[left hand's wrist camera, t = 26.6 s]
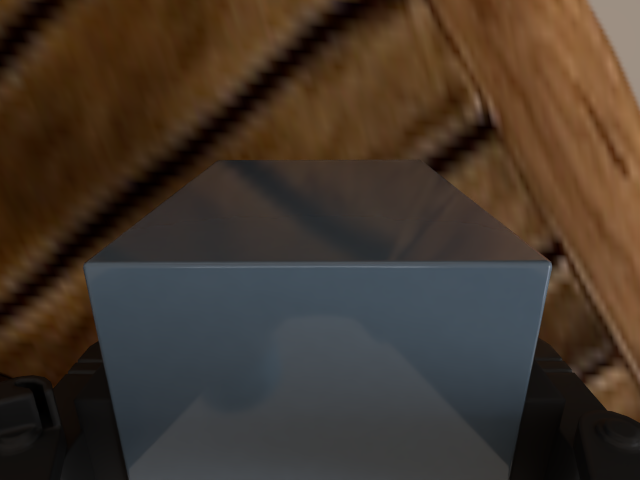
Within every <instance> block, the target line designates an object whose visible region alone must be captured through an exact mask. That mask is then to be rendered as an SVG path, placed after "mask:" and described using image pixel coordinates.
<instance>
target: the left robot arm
mask: <svg viewBox="0 0 640 480" xmlns="http://www.w3.org/2000/svg"><path fill="white" fill-rule="evenodd" d="M0 480H128V476H127V472H126V467H125V462H124V458H123V453H122V448H121V444H120V439H119V434H118V429H117V425H116V420H115V415H114V411H113V406H112V401H111V396H110V392H109V387H108V382H107V378H106V373H105V368H104V363H103V359H102V354H101V349H100V345H99V341H98V342H96V343H95V344H93V345H92V346H90V347H89V348H88V349H87V350H86V352H85V353H84V354H83V355H82V356H81V357H80V359H79V360H78V363H75V364H74V365H73V367H72V368H71V369H70V370H69V371H68V374H66V375H65V376H64V377H63V378H62V379H61V380H60V382H59V383H58V384H57V385H56V386H55V387H54V389H53V388H52V384H51V382H50V381H49V380H47V379H46V378H45V377H40V376H34V375H31V376H21V377H16V378H12V379H9V378H6V377H4V376H1V375H0ZM509 480H640V423H639V422H637V421H635V420H633V419H631V418H629V417H627V416H624V415H621V414H618V413H615V412H612V411H607V410H606V409H605V407H604V406H603V405H602V404H601V403H600V402H599V401H598V399H597V398H596V397H595V396H594V395H593V394H592V393H591V391H590V390H589V389H588V388H587V387H586V386H585V384H584V383H583V382H582V381H581V380H580V379H579V378H578V376H577V375H576V374H575V373H572V370H571V368H570V367H569V366H568V365H567V364H566V363H565V362H564V361H562V358H561V357H560V356H559V355H558V354H557V352H556V351H555V350H554V349H553V348H552V347H551V345H549V344H548V343H546V342H544V341H543V340H541V339H540V338H538V339H537V344H536V349H535V354H534V359H533V364H532V369H531V374H530V379H529V384H528V389H527V394H526V399H525V404H524V408H523V413H522V418H521V423H520V428H519V433H518V438H517V443H516V448H515V453H514V458H513V463H512V468H511V473H510V478H509Z"/></svg>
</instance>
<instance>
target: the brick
mask: <svg viewBox="0 0 640 480" xmlns="http://www.w3.org/2000/svg"><path fill="white" fill-rule="evenodd" d="M83 269H84V274H85V279H86V283H87V288H88V293H89V298H90V302H91V307H92V312H93V316H94V321H95V326H96V331H97V335H98V340H99V345H100V349H101V354H102V359H103V363H104V368H105V373H106V378H107V382H108V387H109V392H110V396H111V401H112V406H113V411H114V415H115V420H116V425H117V429H118V434H119V439H120V444H121V448H122V453H123V458H124V462H125V467H126V472H127V476H128V480H509V478H510V473H511V468H512V463H513V458H514V453H515V448H516V443H517V438H518V433H519V428H520V423H521V418H522V413H523V408H524V404H525V399H526V394H527V389H528V384H529V379H530V374H531V369H532V364H533V359H534V354H535V349H536V344H537V339H538V334H539V329H540V324H541V319H542V314H543V309H544V304H545V299H546V294H547V289H548V285H549V280H550V275H551V270H552V264H551V261H549V260H548V259H547V258H545V257H544V256H543V255H542V254H540V253H539V252H538V251H536V250H535V249H534V248H533V247H531V246H530V245H529V244H527V243H526V242H525V241H524V240H522V239H521V238H520V237H518V236H517V235H516V234H515V233H513V232H512V231H511V230H510V229H508V228H507V227H506V226H504V225H503V224H502V223H501V222H499V221H498V220H497V219H495V218H494V217H493V216H492V215H490V214H489V213H488V212H486V211H485V210H484V209H483V208H481V207H480V206H479V205H477V204H476V203H475V202H474V201H472V200H471V199H470V198H469V197H467V196H466V195H465V194H463V193H462V192H461V191H460V190H458V189H457V188H456V187H454V186H453V185H452V184H451V183H449V182H448V181H447V180H445V179H444V178H443V177H442V176H440V175H439V174H438V173H436V172H435V171H434V170H433V169H431V168H430V167H429V166H428V165H426V164H425V163H424V162H422V161H421V160H219V161H217V162H215V163H214V164H213V165H211V166H210V167H209V168H208V169H206V170H205V171H204V172H202V173H201V174H200V175H198V176H197V177H196V178H194V179H193V180H192V181H191V182H189V183H188V184H187V185H185V186H184V187H183V188H181V189H180V190H179V191H177V192H176V193H175V194H174V195H172V196H171V197H170V198H168V199H167V200H166V201H164V202H163V203H162V204H161V205H159V206H158V207H157V208H155V209H154V210H153V211H151V212H150V213H149V214H147V215H146V216H145V217H144V218H142V219H141V220H140V221H138V222H137V223H136V224H134V225H133V226H132V227H131V228H129V229H128V230H127V231H125V232H124V233H123V234H121V235H120V236H119V237H117V238H116V239H115V240H114V241H112V242H111V243H110V244H108V245H107V246H106V247H104V248H103V249H102V250H101V251H99V252H98V253H97V254H95V255H94V256H93V257H91V258H90V259H89V260H87V261H86V262H85V263H84V267H83Z"/></svg>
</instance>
